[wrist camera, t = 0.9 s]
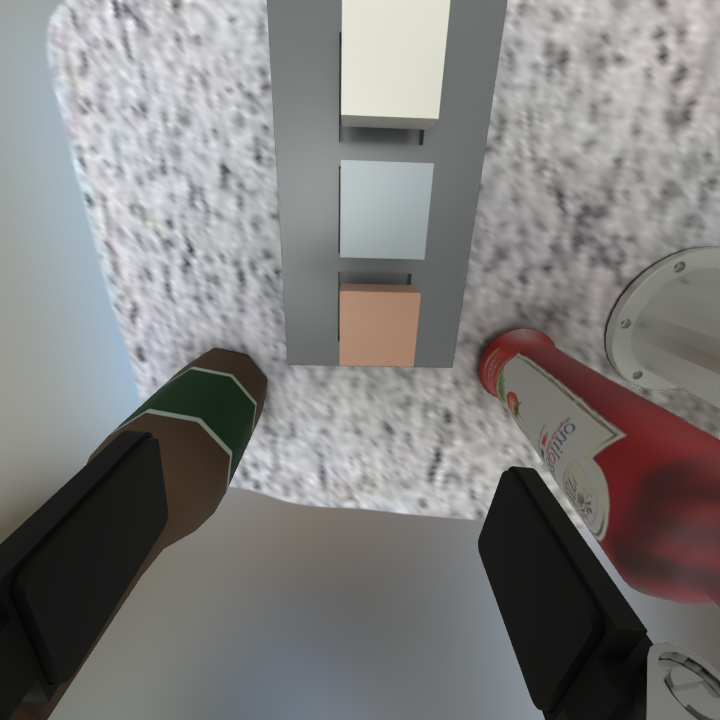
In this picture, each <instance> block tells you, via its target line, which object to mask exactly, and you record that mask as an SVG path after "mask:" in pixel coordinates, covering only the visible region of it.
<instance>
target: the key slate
mask: <svg viewBox="0 0 720 720" xmlns="http://www.w3.org/2000/svg"><path fill="white" fill-rule="evenodd" d="M433 169H434V163H411V162H385V161H358V160H341V218H340V257H350V258H385V259H420V260H424V258H425V248H426V238H427V228H428V218H429V208H430V199H431V189H432V179H433Z"/></svg>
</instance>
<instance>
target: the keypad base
mask: <svg viewBox="0 0 720 720" xmlns="http://www.w3.org/2000/svg"><path fill="white" fill-rule="evenodd" d="M506 7H507V0H450V10H449V20H448V30H447V40H446V50H445V60H444V70H443V79H442V89H441V99H440V109H439V119H438V120H437V121H436V122H435V123H434V124H433V125H432V126H431V128H430V129H429V130H421V129H397V128H373V127H348V126H342V117H341V75H342V0H267V12H268V29H269V47H270V64H271V81H272V98H273V116H274V133H275V150H276V167H277V184H278V202H279V219H280V236H281V253H282V271H283V288H284V305H285V322H286V339H287V357H288V365H323V366H343V365H339V360H340V288H341V283H345V284H384V285H414V286H415V287H416V288H417V289H418V290H419V291H420V293H421V298H420V308H419V318H418V327H417V337H416V347H415V357H414V367H434V368H452V367H453V360H454V353H455V347H456V340H457V333H458V327H459V320H460V313H461V307H462V300H463V293H464V287H465V280H466V273H467V267H468V260H469V253H470V247H471V240H472V233H473V227H474V220H475V213H476V207H477V200H478V193H479V187H480V180H481V173H482V167H483V160H484V153H485V147H486V140H487V133H488V127H489V120H490V113H491V107H492V100H493V93H494V87H495V80H496V73H497V67H498V60H499V53H500V47H501V40H502V34H503V27H504V20H505V14H506ZM341 160H358V161H385V162H411V163H434V169H433V179H432V189H431V199H430V208H429V218H428V228H427V238H426V248H425V258H424V260H420V259H385V258H350V257H340V218H341ZM379 367H398V366H379Z"/></svg>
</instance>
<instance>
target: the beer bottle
mask: <svg viewBox="0 0 720 720" xmlns="http://www.w3.org/2000/svg"><path fill="white" fill-rule="evenodd" d="M266 385H267V379H266V378H265V377H264V375H263V374H262V373H261V372H260V370H259V369H258V368H257V367H256V366H255V364H254V363H253V362H252V361H251V359H250V358H249V357H248V356H247V355H244V354H239V353H234V352H229V351H224V350H219V349H214V348H213V349H212V350H210V351H209V352H207V353H205V354H204V355H202V356H201V357H199V358H198V359H196V360H194V361H193V362H191V363H190V364H188V365H187V366H186V367H184V368H183V369H182V370H180V371H179V372H178V373H177V374H175V375H174V376H173V377H172V378H171V379H170V380H169V381H168V382H167V383H166V384H165V385H163V386H162V387H161V388H160V389H159V390H158V391H157V392H156V393H155V394H154V395H153V396H151V397H150V398H149V399H148V400H147V401H146V402H145V403H144V404H143V405H142V406H140V407H139V408H138V409H137V410H136V411H135V412H134V413H133V414H132V415H131V416H130V417H129V418H127V419H126V420H125V421H124V422H123V423H122V424H121V425H120V426H119V427H118V428H117V429H115V430H114V431H113V432H112V433H111V434H110V435H109V436H108V437H107V438H106V439H105V440H104V441H103V443H102V444H101V445H100V446H99V447H98V448H97V449H96V450H95V451H94V453H92V455H91V456H90V458H89V460H88V463H89V462H90V461H91V460H92V459H93V458H94V457H95V456H97V455H98V454H99V453H100V452H101V451H102V450H103V449H104V448H105V447H106V446H107V445H108V444H110V443H111V442H112V441H113V440H114V439H115V438H116V437H117V436H118V435H119V434H120V433H122V432H123V431H125V430H134V431H144V432H150V433H151V434H152V435H153V438H156V439H158V441H159V446H160V454H161V461H162V469H163V476H164V483H165V491H166V498H167V506H168V520H167V523H166V526H165V528H164V530H163V531H162V533H161V534H160V536H159V538H158V539H157V541H156V543H155V544H154V546H153V547H152V549H151V551H150V552H149V554H148V556H147V557H146V559H145V560H144V562H143V564H142V565H141V567H140V568H139V570H138V572H137V573H136V575H135V577H134V578H133V580H132V581H131V583H130V585H129V586H128V588H127V590H126V591H125V593H124V594H123V596H122V598H121V599H120V601H119V603H118V604H117V606H116V607H115V609H114V611H113V612H112V614H111V616H110V617H109V619H108V620H107V622H106V624H105V625H104V627H103V629H102V630H101V632H100V633H99V635H98V637H97V638H96V640H95V641H94V643H93V645H92V646H91V648H90V650H89V651H88V653H87V654H86V656H85V658H84V659H83V661H82V663H81V664H80V666H79V667H78V669H77V671H76V672H75V674H74V675H73V676H72V677H71V678H70V680H68V681H67V682H66V683H61V684H60V685H59V687H58V689H57V690H56V692H55V693H54V695H53V697H52V698H51V700H50V701H49V702H31V701H21V703H20V704H19V706H18V707H17V709H16V710H15V711H14V713H13V714H12V716H11V717H10V719H9V720H47V719H48V718H49V716H50V715H51V713H52V712H53V710H54V709H55V707H56V705H57V704H58V702H59V701H60V699H61V698H62V696H63V695H64V693H65V692H66V690H67V689H68V687H69V686H70V684H71V683H72V681H73V679H74V678H75V677H76V675H77V673H78V672H79V670H80V669H81V667H82V666H83V664H84V663H85V661H86V660H87V658H88V657H89V655H90V654H91V652H92V651H93V649H94V648H95V646H96V645H97V643H98V641H99V640H100V638H101V637H102V635H103V634H104V632H105V631H106V629H107V628H108V626H109V625H110V623H111V622H112V620H113V619H114V617H115V616H116V614H117V613H118V611H119V609H120V608H121V606H122V605H123V603H124V602H125V600H126V599H127V597H128V596H129V594H130V593H131V591H132V590H133V588H134V587H135V585H136V584H137V582H138V581H139V579H140V577H141V576H142V575H143V573H144V572H145V571H146V570H147V569H148V567H149V566H150V565H151V564H152V562H153V561H154V560H155V559H156V558H157V556H158V555H159V554H160V553H161V551H162V550H163V549H164V548H166V547H168V546H169V545H171V544H173V543H175V542H176V541H178V540H180V539H182V538H183V537H185V536H187V535H189V534H191V533H192V532H194V531H195V530H197V529H198V528H199V527H200V526H201V525H202V524H203V523H204V522H205V521H206V520H207V519H208V518H209V517H210V516H211V515H212V514H213V513H214V512H215V510H216V509H217V507H218V505H219V503H220V502H221V500H222V498H223V496H224V495H225V493H226V491H227V489H228V487H229V484H230V482H231V480H232V478H233V475H234V473H235V471H236V469H237V467H238V464H239V462H240V460H241V458H242V456H243V453H244V451H245V449H246V447H247V444H248V442H249V440H250V438H251V436H252V433H253V431H254V429H255V427H256V424H257V422H258V420H259V418H260V415H261V412H262V409H263V405H264V398H265V391H266ZM88 463H87V464H88Z"/></svg>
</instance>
